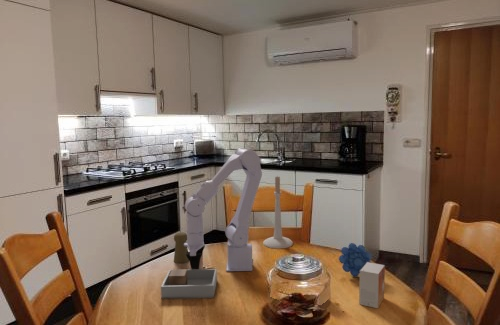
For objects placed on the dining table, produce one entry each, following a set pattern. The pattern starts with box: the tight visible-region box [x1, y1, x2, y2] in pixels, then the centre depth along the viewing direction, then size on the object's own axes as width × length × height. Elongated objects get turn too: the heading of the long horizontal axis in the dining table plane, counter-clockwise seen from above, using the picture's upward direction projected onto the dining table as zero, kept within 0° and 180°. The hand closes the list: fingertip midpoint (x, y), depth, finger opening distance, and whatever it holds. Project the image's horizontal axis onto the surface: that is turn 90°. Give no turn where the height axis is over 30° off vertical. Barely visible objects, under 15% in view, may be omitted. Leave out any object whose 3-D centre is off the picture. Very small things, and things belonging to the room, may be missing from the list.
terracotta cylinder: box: [188, 252, 204, 269], centre depth 140 cm, size 5×5×7 cm
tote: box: [160, 268, 218, 300], centre depth 127 cm, size 16×13×4 cm
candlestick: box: [262, 175, 294, 250], centre depth 169 cm, size 13×13×30 cm
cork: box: [173, 231, 189, 264], centre depth 152 cm, size 6×6×11 cm
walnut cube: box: [169, 269, 188, 286], centre depth 127 cm, size 5×5×5 cm
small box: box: [358, 261, 386, 309], centre depth 117 cm, size 8×6×10 cm
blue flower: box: [338, 242, 373, 278], centre depth 134 cm, size 12×7×12 cm, turn 92°
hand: (196, 268), depth 140 cm, fingers closed on terracotta cylinder, 5 cm apart
